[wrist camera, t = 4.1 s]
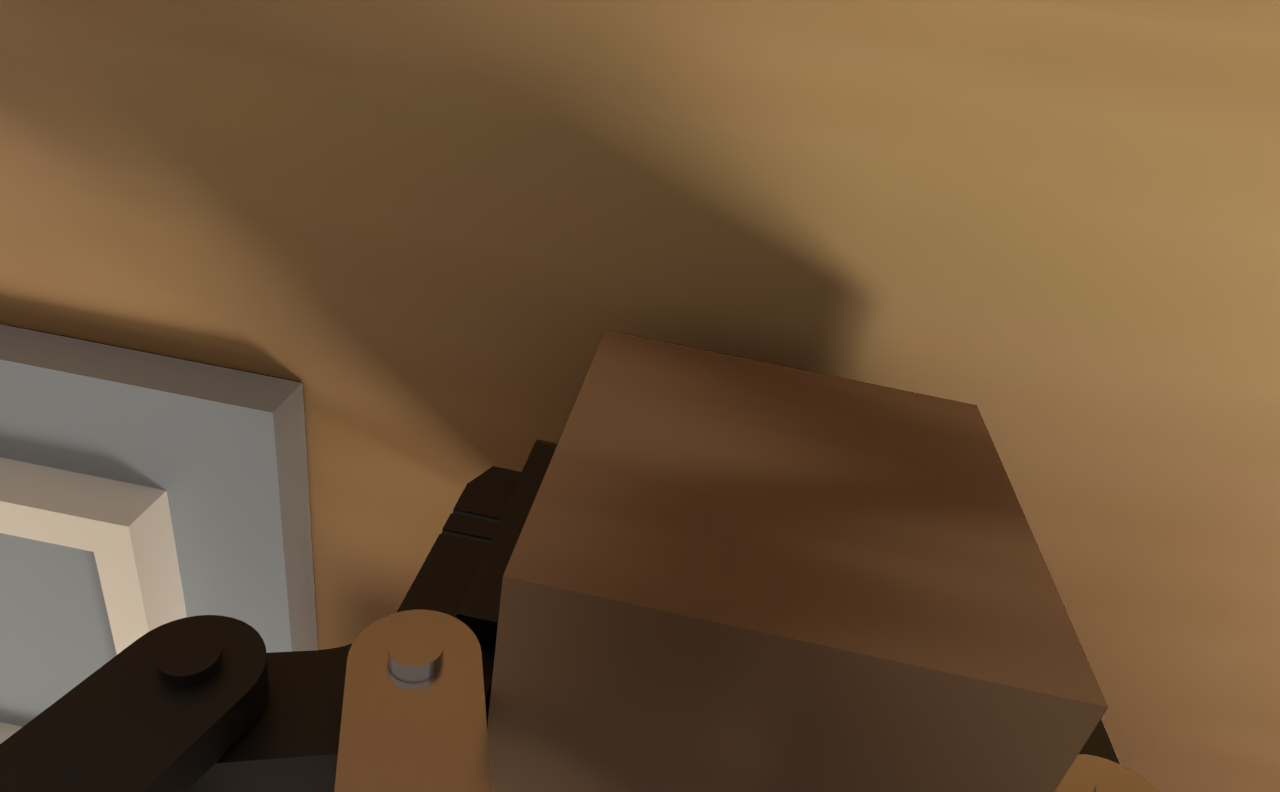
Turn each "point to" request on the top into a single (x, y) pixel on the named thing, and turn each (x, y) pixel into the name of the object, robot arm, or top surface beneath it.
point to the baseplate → (141, 508)
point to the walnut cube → (778, 595)
